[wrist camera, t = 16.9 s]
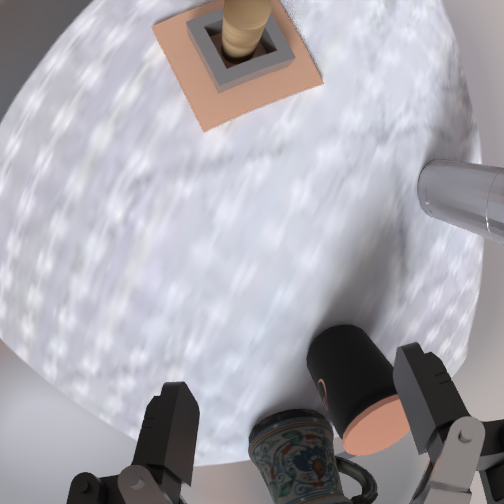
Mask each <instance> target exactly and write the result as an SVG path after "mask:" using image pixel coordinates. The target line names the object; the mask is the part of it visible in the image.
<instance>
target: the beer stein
mask: <svg viewBox="0 0 504 504" xmlns="http://www.w3.org/2000/svg"><path fill="white" fill-rule="evenodd" d="M333 437H334V434H333V430H332V427H331V426H330V424H329V423H328V422H327V421H326V420H325V418H324V417H323V415H321V414H319V413H317V412H315V411H313V410H306V409H293V410H289V411H284V412H279V413H276V414H274V415H272V416H269V417H267V418H265V419H264V420H262V421H261V422H260V423H259V424H257V425H256V426H255V427H254V428H253V430H252V432H251V434H250V436H249V448H248V453H249V457H250V459H251V460H252V462H253V463H254V464H255V465H256V466H257V468H258V470H259V471H260V473H261V475H262V477H263V479H264V481H265V483H266V485H267V487H268V490H269V492H270V495H271V497H272V499H273V502H274V504H372V503H373V501H375V499H376V498H377V496H378V493H377V484H376V481H375V479H374V477H373V476H372V475H371V474H370V473H369V472H368V471H367V470H366V469H364V468H363V467H361V466H359V465H358V464H356V463H353V462H351V461H349V460H347V459H344V458H341V457H337V456H335V455H334V449H333ZM338 472H341V473H344V474H346V475H348V476H350V477H352V478H353V479H355V480H357V481H358V482H359V483H360V485H361V486H362V494H361V495H358V496H354V497H352V499H350V500H349V499H348V498H346V497H345V496H344V494H343V491H342V486H341V481H340V477H339V473H338Z"/></svg>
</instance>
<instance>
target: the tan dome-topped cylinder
mask: <svg viewBox="0 0 504 504" xmlns="http://www.w3.org/2000/svg"><path fill="white" fill-rule="evenodd" d="M271 10H272V4H271V1H270V0H225V1H224V8H223V25H222V43H221V53H222V56H223V57H224V58H225V60H227V61H228V62H230V63H233V64H241V63H243V62H246V61H249V60H251V59H252V57H253V56H254V53H255V51H256V48H257V46H258V43H259V40H260V38H261V35H262V33H263V30H264V28H265V25H266V23H267V20H268V18H269V15H270V13H271Z"/></svg>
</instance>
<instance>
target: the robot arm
mask: <svg viewBox="0 0 504 504" xmlns="http://www.w3.org/2000/svg"><path fill="white" fill-rule="evenodd" d="M418 197H419V201H420V204H421V206H422V208H423V210H424V211H425V212H426V213H427V214H428V215H429V216H431V217H434V218H436V219H439V220H442V221H445V222H447V223H450V224H452V225H455V226H458V227H460V228H463V229H465V230H468V231H471V232H473V233H476V234H478V235H481V236H483V237H486V238H488V239H490V240H493V241H495V242H498V243H500V244H503V245H504V168H501V167H494V166H488V165H481V164H474V163H466V162H458V161H450V160H440V159H438V160H433V161H431V162H429V163H428V164H427V165H426V166H425V168H424V169H423V171H422V173H421V175H420V178H419V182H418ZM393 380H394V385H395V388H396V390H397V393H398V396H399V398H400V401H401V404H402V406H403V409H404V412H405V415H406V418H407V420H408V423H409V426H410V429H411V432H412V435H413V438H414V441H415V444H416V447H417V450H418V453H419V455H420V454H423V453H426V452H428V454H429V457H430V459H429V462H428V464H427V466H426V469H425V471H424V473H423V476H422V478H421V480H420V483H419V485H418V487H417V489H416V491H415V493H414V495H413V497H412V499H411V501H410V503H409V504H469V503H470V500H471V496H472V493H471V491H470V486H471V483H472V480H473V476H474V474H475V471H479V473H480V477H481V481H482V484H483V487H484V492H485V496H486V500H487V504H504V419H503V420H496V421H489V422H482V421H479V420H478V419H477V418H474V417H472V416H471V415H470V414H469V413H468V411H467V409H466V407H465V405H464V403H463V401H462V399H461V397H460V395H459V393H458V391H457V389H456V387H455V385H454V383H453V381H451V377H450V375H449V373H447V370H446V368H445V366H444V364H443V362H442V360H441V359H440V358H438V357H437V356H436V355H435V354H433V353H432V352H429V353H426V354H424V352H423V350H422V349H421V347H420V345H419V344H418V343H417V342H414V343H411V344H407V345H404V346H400V347H398V348H397V352H396V358H395V364H394V370H393ZM199 417H200V411H199V406H198V403H197V401H196V400H195V398H194V396H193V395H192V393H191V391H190V390H189V388H188V386H187V385H186V383H185V382H166V383H164V385H163V387H162V391H161V395H160V396H154V397H153V399H152V400H151V401H150V403H149V404H148V405H147V408H146V411H145V415H144V420H143V423H142V426H141V427H142V429H141V430H140V434H139V438H138V442H137V446H136V450H135V454H134V458H133V461H132V464H131V465H130V466H128V467H126V468H125V469H124V470H122V471H121V473H120V474H119V475H115V476H109V477H101V478H97V477H95V476H94V475H93V474H91V473H88V472H83V473H80V474H78V475H77V476H75V477H74V479H73V480H72V482H71V486H70V491H69V495H68V499H67V504H187V503H186V502H185V500H184V499H183V497H182V496H181V495H180V491H181V486H183V487H191V479H192V471H193V464H194V456H195V448H196V440H197V432H198V425H199Z"/></svg>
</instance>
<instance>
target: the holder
mask: <svg viewBox="0 0 504 504" xmlns="http://www.w3.org/2000/svg"><path fill="white" fill-rule="evenodd" d="M224 1H225V0H216V1H213V2H210V3H208V4H205V5H202V6H199V7H197V8H194V9H192V10H189V11H186V12H184V13H182V14H179V15H177V16H174V17H172V18H170V19H168V20H165V21H163V22H161V23H159V24H157V25H155V26H152V27H151V28H152V30H153V32H154V34H155V36H156V38H157V40H158V42H159V44H160V46H161V48H162V50H163V52H164V54H165V56H166V58H167V60H168V62H169V64H170V66H171V68H172V70H173V72H174V74H175V76H176V78H177V80H178V82H179V84H180V86H181V88H182V90H183V92H184V94H185V96H186V98H187V100H188V102H189V104H190V106H191V108H192V110H193V112H194V114H195V116H196V118H197V120H198V122H199V124H200V126H201V128H202V130H203V132H204V133H205V132H207V131H209V130H211V129H213V128H215V127H217V126H219V125H222V124H224V123H226V122H228V121H230V120H233V119H235V118H237V117H239V116H242V115H244V114H246V113H249V112H251V111H254V110H256V109H258V108H261V107H263V106H266V105H268V104H271V103H273V102H276V101H278V100H281V99H284V98H286V97H289V96H292V95H294V94H297V93H300V92H303V91H305V90H308V89H311V88H314V87H317V86H320V85H322V84H324V83H323V81H322V79H321V77H320V74H319V72H318V70H317V68H316V66H315V65H314V63H313V61H312V59H311V57H310V55H309V53H308V51H307V49H306V47H305V45H304V44H303V42H302V40H301V38H300V36H299V35H298V33H297V31H296V29H295V27H294V26H293V24H292V22H291V21H290V19H289V17H288V15H287V14H286V12H285V11H284V9H283V7H282V6H281V4H280V2H279V1H278V0H270V1H271V4H272V10H271V13H270V15H269V18H268V20H267V23H266V25H265V28H264V30H263V33H262V35H261V38H260V40H259V43H258V46H257V48H256V51H255V53H254V56H253V57H252V59H251V60H249V61H246V62H243V63H241V64H233V63H230V62H228V61H227V60H225V58H224V57H223V56H222V53H221V43H222V25H223V8H224Z"/></svg>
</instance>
